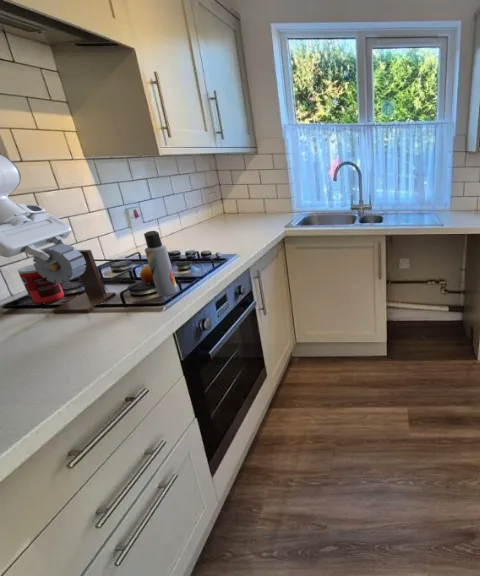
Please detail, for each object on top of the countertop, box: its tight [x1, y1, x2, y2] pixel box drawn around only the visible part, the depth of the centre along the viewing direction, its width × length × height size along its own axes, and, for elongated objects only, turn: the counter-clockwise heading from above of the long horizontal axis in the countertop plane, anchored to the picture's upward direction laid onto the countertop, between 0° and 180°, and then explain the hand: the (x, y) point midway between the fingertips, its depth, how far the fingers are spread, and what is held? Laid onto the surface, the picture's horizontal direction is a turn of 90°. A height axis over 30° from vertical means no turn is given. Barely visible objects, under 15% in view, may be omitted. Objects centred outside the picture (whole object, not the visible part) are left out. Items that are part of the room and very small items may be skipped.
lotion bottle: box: [143, 230, 178, 297], centre depth 112 cm, size 6×6×20 cm
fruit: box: [139, 263, 155, 285], centre depth 124 cm, size 8×8×8 cm
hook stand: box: [49, 249, 117, 315], centre depth 106 cm, size 10×12×16 cm
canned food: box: [17, 264, 65, 306], centre depth 111 cm, size 8×8×11 cm
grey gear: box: [32, 243, 86, 284], centre depth 101 cm, size 10×5×10 cm, turn 91°
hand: (59, 254), depth 100 cm, fingers closed on grey gear, 5 cm apart
